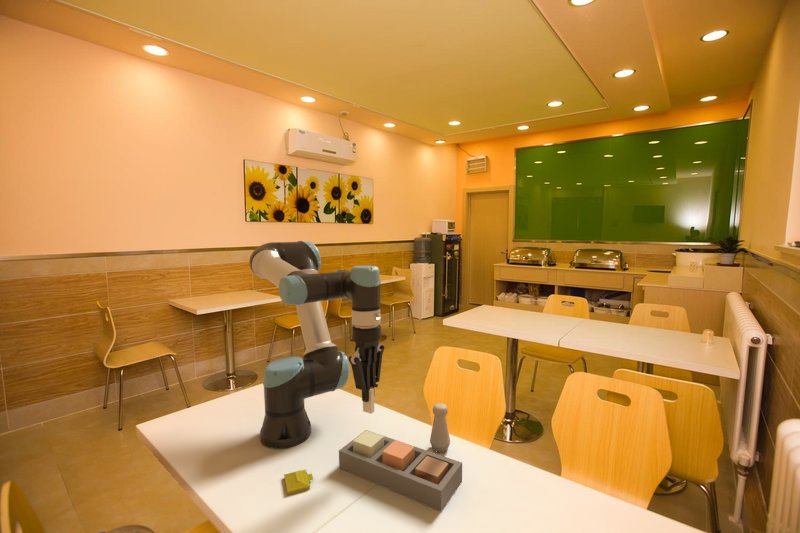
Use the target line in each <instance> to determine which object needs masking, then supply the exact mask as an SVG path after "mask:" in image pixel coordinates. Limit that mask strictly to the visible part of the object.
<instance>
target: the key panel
mask: <svg viewBox="0 0 800 533" xmlns="http://www.w3.org/2000/svg"><path fill="white" fill-rule="evenodd" d="M366 430H367V429H366ZM366 430H364V431H362V433H364V432H365V431H366ZM367 431H370V432H373V433H376V432H374V431H371V430H367ZM362 433H360V434H359V435H357V436H356V437H355V438H353V439H352V440H351V441H350V442H348V443H347V444H346V445H344V446H343V447H341V448H340V449H339V450H338V468H339V469H340V470H343V471H344V472H347V473H349V474H351V475H354V476H357V477H359V478H361V479H364V480H366V481H368V482H370V483H372V484H375V485H377V486H380V487H382V488H384V489H387V490H389V491H392V492H394V493H396V494H399V495H401V496H403V497H406V498H408V499H411V500H413V501H415V502H417V503H420V504H422V505H425V506H427V507H429V508H431V509H433V510H436V511H439V512H442V511H443V510H444V509H445V507H446V505H447V504H448V503H449V501H450V500H451V498H452V497H453V496H454V494H455V493H456V491H457V489H459V487H460V485H461V483H462V482H463V462H461V461H459V460H455V459H452V458H449V457H447V456H444V455H441V454H438V453H436V452H435V453H434V452H432V451H430V450H427V449H423V448H420V447H418V446H415V445H412V444H410V443H405V442H402V441H399V440H397V439H395V438H391V437H388V436H385V435H382V434H380V433H376V434H379V435H381V436H384V447H383V448H382V449H381V450H380V451H378V452H377V453H376V454H375V455H374V456H373V457H372V458H368V457H365V456H363V455H360V454H357V453H355V452H353V440H354V439H356V438H357V437H358V436H360V435H361V434H362ZM395 440H396V441H399V442H402V443H405V444H408V445H411V446H414V447H415V459H414V460H413V461H412V462H411V463H410V464H409V465H408V466H407V467H406V468H405V469H404V470H403V471H401V470H399V469H396V468H394V467H391V466H388V465H386V464H383V455H382V451H384V450H385V449H386V448H387V447H388V446H389V445H390V444H391V443H393V442H394V441H395ZM426 456H429V457H432V458H435V459H438V460H440V461H443V462H446V463H448V473H447V474H446V475H445V477H444V478H443V479H442V481H441V482H440V483H439V485H437V484H435V483H432V482H430V481H427V480H425V479H422V478H419V477H417V476H415V468H416V467H417V466H418V465H419V464H420V463H421V462H422V461H423V459H424V458H425V457H426Z"/></svg>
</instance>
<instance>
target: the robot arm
mask: <svg viewBox="0 0 800 533" xmlns="http://www.w3.org/2000/svg"><path fill="white" fill-rule="evenodd" d="M321 258H322V257H321V253H320V251H319V248H318V247H317V246H316V245H315V243H313V242H310V241H303V240H299V241H284V242H283V241H281V242H279V241H278V242H276V241H275V242H274V241H273V242H267V243H263V244H261V245H260V246H258V247H256V248H255V249H254V250H253V252H252V253H251V254H250V257H249V259H248V260H249V261H248V262H249V268H250V270H251V271H252V273H253V274H254V275H256V276H257V277H258V278H260V279H263V280H264V279H265V280H268V281H269V282H270V283H272V284H273V285H274V286H276V287H277V288H278V293H279V294H278V295H279V296H280V300H281V302H282V303H283V304H284V305H286V306H291V305H295V308H296V311H297V312H296V313H297V317H298V320H299V324H300V329H301V334H302V338H303V342H304V346H305V351H304V353H303V354H302V357H300V356H297V355H296V356H295V355H292V356H285V357H284V356H283V357H280V358H278V359H274V360H273V361H271V362H269V364H268V365H266V367H265V368H264V369H263V370H264V371H263V380H262V385H263V393H264V394H263V395H264V411H265V412H264V418H263V420H262V421H263V422H262V426H261V429H260V431H259V439H260V440H259V441H260V443H261V444H262V445H263V446H265V447H266V448H270V449H277V450H278V449H285V448H292V447H296V446H297V445H300V444H302V443H304V442H305V441H306V440H308V439H309V437H310V435H311V433H312V423H311V421H310V419H309V415H308V413H307V411H306V408H305V399H309V398H311V397H315V396H319V395H322V394H326V393H329V392H334V391H336V390H339V389H342V388H344V387H345V386H346V385H347V383H348V380H349V377H350V365H351V371H352V375H353V380H354V386H355V388H356V389H357V390H360V391H361V400H362V412H364V413H368V414H370V415H371V414H373V413H375V388H378V386H379V384H378V383H379V382H380V379H381V371H382V361H383V355H384V351H385V345H382V344H380V342H379V341H380V340H381V339H382V326H381V325H380V324H381V322H382V321H381V320H382V318H381V316H382V314H381V282H382V281H381V278H380V274H381V273H380V269H379V267H378V266H376V265H354V266H352V267H351V269H350V270H348V269H338V270H334V271H331V272H321V273H320V272H319V271H320V270H321V267H322V261H321V260H322V259H321ZM341 299H349V300H351V324H352V325H353V326H352V327H351V332H352V334H351V335H352V337H351V338H352V340H353V342H354V343H355V347H354V354H353V355H350V356H347V354H346V353H345V352H344V351H339V348H338V345H337V344H335V343H333V342H332V339H331V335H330V331H329V327H328V323H327V319H326V315H325V312H324V308H323V305H322V302H325V301H332V300H341Z"/></svg>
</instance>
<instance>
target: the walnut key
mask: <svg viewBox="0 0 800 533" xmlns="http://www.w3.org/2000/svg"><path fill="white" fill-rule="evenodd" d="M447 473H448V463H446V462H443V461H440V460H438V459H435V458H432V457H429V456H426V457H425V458H424V459H423V461H422V462H421V463H420V464H419V465H418V466H417V467H416V468H415V476H417V477H419V478H422V479H425V480H427V481H430V482H432V483H435V484H437V485H439V483H440V482H441V481H442V479H443V478H444V477H445V475H446V474H447Z"/></svg>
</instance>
